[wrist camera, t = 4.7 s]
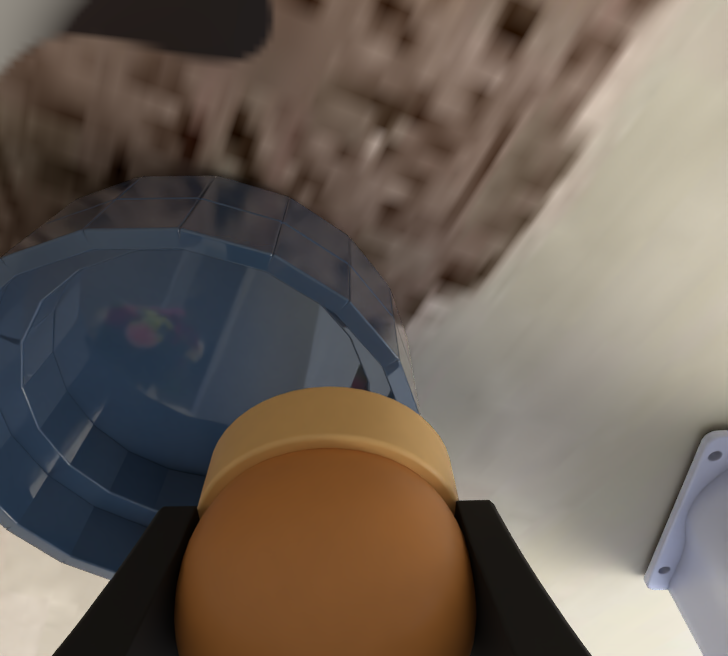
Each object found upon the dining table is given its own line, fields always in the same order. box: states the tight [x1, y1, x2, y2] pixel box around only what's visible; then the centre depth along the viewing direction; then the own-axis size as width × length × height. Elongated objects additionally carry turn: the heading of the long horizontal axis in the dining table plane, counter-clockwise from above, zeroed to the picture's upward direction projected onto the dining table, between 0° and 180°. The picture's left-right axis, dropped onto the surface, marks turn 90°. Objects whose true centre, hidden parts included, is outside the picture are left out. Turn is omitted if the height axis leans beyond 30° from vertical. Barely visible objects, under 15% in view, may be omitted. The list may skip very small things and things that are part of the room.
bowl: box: [0, 176, 421, 580], centre depth 17 cm, size 13×13×4 cm
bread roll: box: [174, 387, 476, 656], centre depth 9 cm, size 5×5×5 cm
